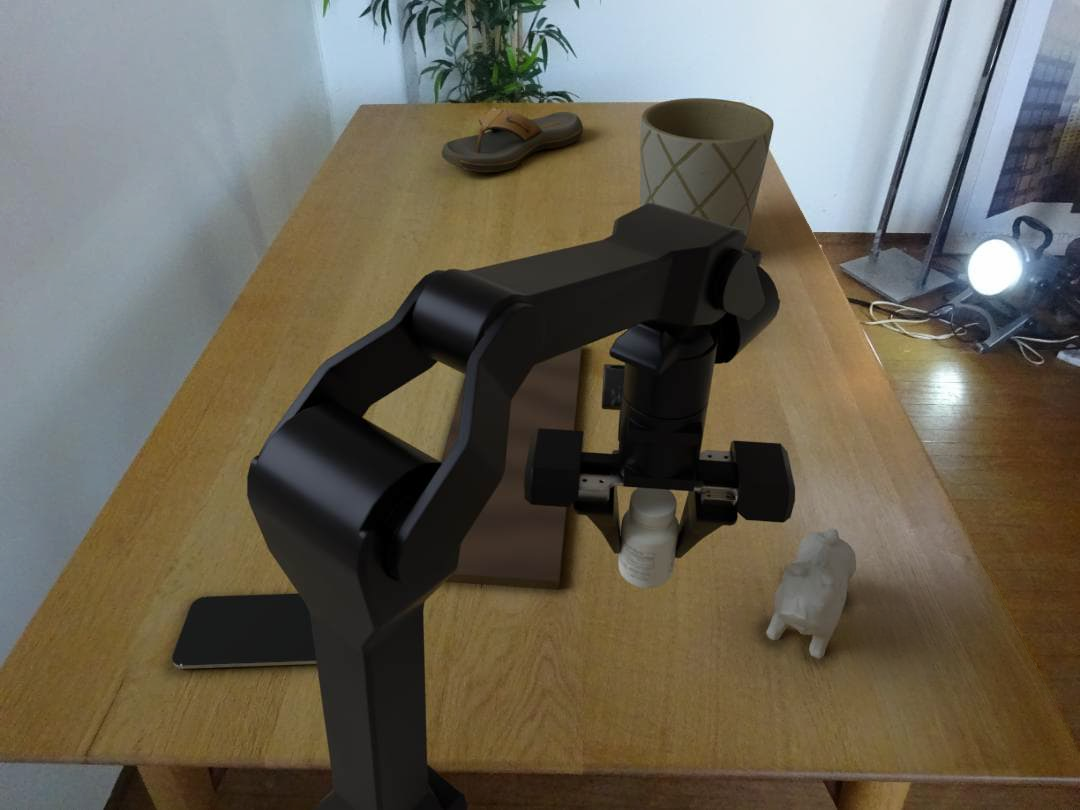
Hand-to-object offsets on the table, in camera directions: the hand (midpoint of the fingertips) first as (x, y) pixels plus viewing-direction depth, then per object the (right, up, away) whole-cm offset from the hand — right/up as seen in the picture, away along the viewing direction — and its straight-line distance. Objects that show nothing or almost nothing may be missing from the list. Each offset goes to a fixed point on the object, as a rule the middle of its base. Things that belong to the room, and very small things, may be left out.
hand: (647, 551), depth 63 cm
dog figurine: (+15, -8, +8) cm, 19 cm away
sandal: (-13, +61, +97) cm, 116 cm away
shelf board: (-12, +7, +28) cm, 31 cm away
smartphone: (-32, -9, +8) cm, 34 cm away
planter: (+16, +37, +67) cm, 78 cm away
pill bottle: (0, -2, +1) cm, 2 cm away
